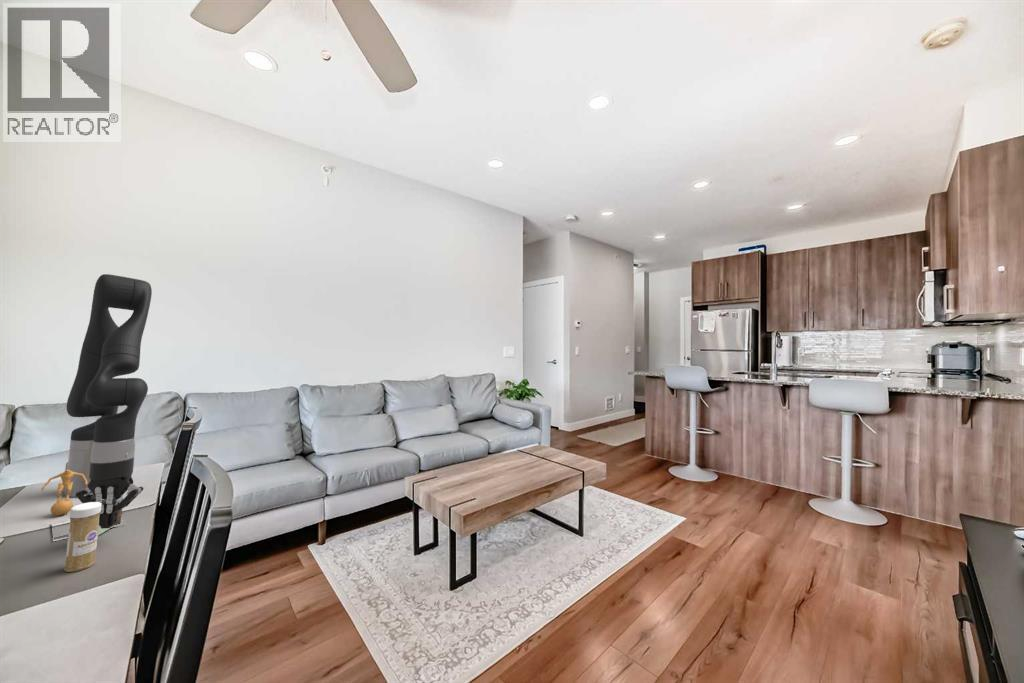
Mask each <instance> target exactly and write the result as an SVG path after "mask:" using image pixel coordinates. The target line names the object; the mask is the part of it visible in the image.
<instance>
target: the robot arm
mask: <svg viewBox="0 0 1024 683" xmlns="http://www.w3.org/2000/svg"><path fill="white" fill-rule="evenodd" d="M152 293H153V292H152V286H151V284H150V282H148V281H146V280H142V279H138V278H133V277H132V278H131V277H129V276H128V277H127V276H122V275H115V274H110V273H109V274H105V273H104V274H101V275H100V276H99V277H98V278H97V280H96V282H95V285H94V290H93V296H92V301H91V302H92V304H91V310H90V317H89V323H88V326H87V328H86V329H87V330H86V331H85V332H86V333H85V336H84V340H83V342H82V346H81V350H80V354H79V360H78V365H77V371H76V375H75V378H74V381H73V382H72V386H71V389H70V392H69V395H68V398H67V400H66V413H67V414H68V416H70V417H72V418H89V417H90V418H91V417H99V418H97V419H96V420H95V421H94V422H92V423H89V424H86V425H84V426H83V425H82V426H80V427H77V428H74V429H73V430H72V431H71V433H70V444H69V449H68V460H67V462H66V463H65V466H64V467H65V468H64V469H65V470H71V471H72V472H77V473H80V474H83V475H84V476H85V478H86V480H87V482H88V485H86V483H85V481H84V479H83V478H82V476H77V475H73V477H72V478H71V480H70V482H73V485H72V489H71V491H70V492H71V493H70V494H69V498H74V497H75V498H77V499H78V500H79V501H80V502H81V504H83V503H89V502H100V503H101V512H100V516H99V526H101V529H103V528H110V527H112V526H113V525H114V524H115V523H116V522H117V517H118V510H121V509H122V510H123V509H124V508H126V507H128V506H129V505H130V504H131V503H132V502H133V501H134V500H135V499H136V498H137V497H138V495H140V494H141V493H142V492H143V490H144V487H143V486H139V487H138V486H136V485H135V484H134V479H133V476H132V475H133V473H134V467H135V466H134V465H135V453H136V452H135V451H136V444H135V433H136V422H137V418H138V414H139V412H140V409H141V407H142V405H143V402H144V401H145V399H146V396H147V394H148V391H149V387H148V383H147V382H146V381H145V380H144V379H142V378H139V377H138V378H137V377H127V378H126V377H120V376H125V375H130V374H134V373H135V372H137V371H138V370H139V367H140V360H141V346H142V339H143V336H144V331H145V327H146V324H147V319H148V315H149V310H150V306H151V301H152ZM109 308H111V309H117V310H118V309H119V310H120V309H121V310H127V311H128V310H129V311H132V313H131V316H130V317H129V318H128V319H127V320H125V322H123V323H122V324H121V325H120V326H118V325H117V324H116V322H115V321H114V318H113V317H112V316H111V313H110V310H109ZM123 406H126V408H125V409H124V410H123V411H121V412H118V411H119V410H118V409H119V407H123ZM65 470H64V471H65ZM84 483H85V484H84ZM67 492H68V490H67V489H66V486H64V488H63V490H62V494H64V496H65V497H66V496H67ZM125 493H126V494H125ZM124 494H125V497H124ZM122 499H123V500H122ZM121 500H122V501H121Z"/></svg>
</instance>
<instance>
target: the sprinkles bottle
mask: <svg viewBox="0 0 1024 683" xmlns="http://www.w3.org/2000/svg"><path fill="white" fill-rule="evenodd" d="M100 512H101V503H100V502H89V503H80V504H76V505H73V507H72V508H71V510H70V511H69V520H70V527H69V532H68V539H66V540H67V541H66V542H67V543H66V550H65V558H66V559H65V566H64V567H63V571H65V572H67V573H71V572H72V573H74V572H78V571H82V570H85V569H87V568H90V567H92V566H93V565H94V564H95V562H96V550H97V544H98V537H99V535H98V523H99V514H100Z"/></svg>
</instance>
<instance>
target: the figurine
mask: <svg viewBox="0 0 1024 683" xmlns="http://www.w3.org/2000/svg"><path fill="white" fill-rule="evenodd" d="M73 475H77V476H82V478H83V479H84V481H85V483H86V485H88V482H87V480H86V478H85V476H84V475H83V474H80V473H77V472H72V471H71V470H64V471H63V472H62V473H59V474H57V475H54V476H52V477H50V478H49V479H48V480H47V481H46V482H45V484H43V486H42V488H41V491H44V489H46V486H48V484H50V482H51V481H52V480H54V479H57V478H61V482H60V483H58V484H57V486H58V487H57V495H58V499H57V500H56V502H55V503H53V505H51V507H50V513H51V514H52V515H54V516H63V514H64V515H66V514H68V513H70V510H71V508H72V507H74V502H72V501H71V500H69V499H70V497H69V494H70V493H71V492H70V491H71V489H72V485H73V482H70V480H71V478H72V477H73ZM85 483H84V484H85ZM64 486H66V489H67V490H68V492H67V496H65V499H62V494H63V492H62V491H63V488H64Z"/></svg>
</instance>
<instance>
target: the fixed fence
mask: <svg viewBox="0 0 1024 683" xmlns="http://www.w3.org/2000/svg"><path fill="white" fill-rule="evenodd" d="M123 499H124V498H123ZM123 499H122V500H123ZM122 500H121V501H122ZM122 513H123V509H121V510H118V517H117V522H116V523H115V524H114V525H117V524H120V523H121V519H122V517H123V516H122V515H123V514H122Z"/></svg>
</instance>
